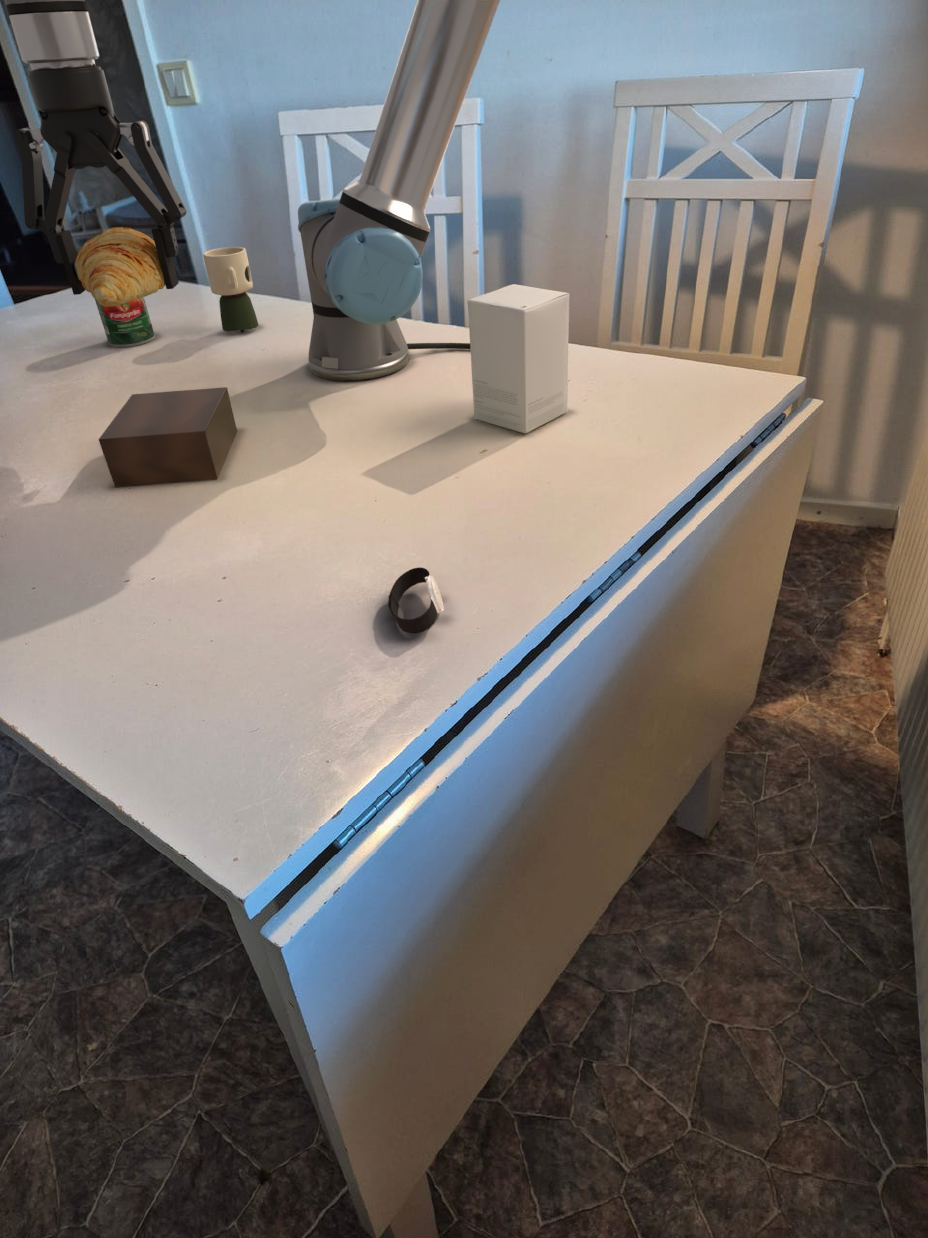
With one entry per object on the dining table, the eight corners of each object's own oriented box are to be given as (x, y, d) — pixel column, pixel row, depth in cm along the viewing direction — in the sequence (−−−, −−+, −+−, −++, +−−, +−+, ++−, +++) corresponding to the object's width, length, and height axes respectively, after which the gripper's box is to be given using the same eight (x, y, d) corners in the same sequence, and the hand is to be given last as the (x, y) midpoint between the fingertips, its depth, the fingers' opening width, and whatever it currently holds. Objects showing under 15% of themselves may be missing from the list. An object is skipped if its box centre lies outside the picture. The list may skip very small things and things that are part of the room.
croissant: (145, 342, 91) (162, 273, 87) (48, 307, 87) (62, 233, 83) (169, 291, 108) (184, 231, 104) (89, 259, 104) (101, 196, 100)
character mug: (267, 334, 140) (251, 254, 132) (225, 341, 138) (206, 260, 130) (256, 319, 148) (240, 242, 140) (216, 325, 146) (198, 248, 138)
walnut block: (237, 431, 106) (227, 386, 102) (217, 479, 95) (205, 431, 91) (145, 438, 106) (132, 393, 102) (114, 487, 94) (98, 439, 91)
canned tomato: (137, 330, 146) (118, 266, 140) (164, 336, 142) (146, 270, 136) (99, 343, 141) (77, 276, 135) (126, 349, 137) (105, 281, 131)
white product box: (570, 412, 105) (572, 291, 96) (525, 435, 100) (524, 310, 91) (516, 397, 110) (514, 281, 101) (471, 418, 105) (465, 298, 96)
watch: (446, 636, 68) (443, 601, 66) (390, 642, 67) (385, 606, 65) (441, 586, 74) (438, 552, 72) (389, 590, 74) (385, 556, 72)
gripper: (182, 57, 87) (228, 275, 100) (-29, 70, 87) (44, 286, 100) (163, 59, 81) (214, 291, 94) (-64, 73, 81) (18, 302, 94)
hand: (126, 288), depth 97 cm, fingers closed on croissant, 10 cm apart
